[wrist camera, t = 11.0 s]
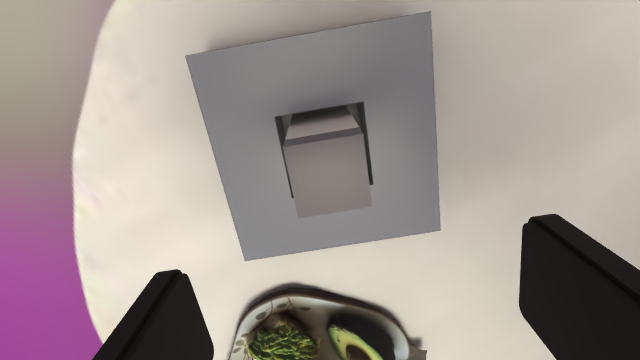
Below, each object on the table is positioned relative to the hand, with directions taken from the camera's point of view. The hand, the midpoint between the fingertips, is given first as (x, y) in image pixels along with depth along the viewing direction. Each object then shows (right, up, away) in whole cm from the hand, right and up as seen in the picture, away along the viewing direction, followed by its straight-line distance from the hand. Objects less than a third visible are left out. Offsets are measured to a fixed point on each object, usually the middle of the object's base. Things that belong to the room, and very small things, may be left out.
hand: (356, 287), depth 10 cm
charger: (-1, +6, +15) cm, 17 cm away
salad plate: (-1, -14, +25) cm, 29 cm away
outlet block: (-1, +6, +16) cm, 18 cm away
